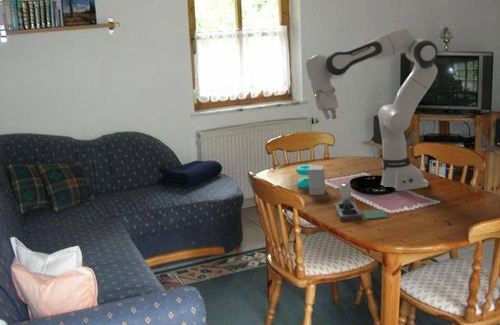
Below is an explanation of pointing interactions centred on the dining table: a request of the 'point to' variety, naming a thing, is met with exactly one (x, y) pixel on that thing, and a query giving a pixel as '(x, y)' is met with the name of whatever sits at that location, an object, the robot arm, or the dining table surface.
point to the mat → (374, 214)
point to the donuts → (303, 171)
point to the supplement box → (316, 180)
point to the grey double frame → (348, 212)
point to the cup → (345, 195)
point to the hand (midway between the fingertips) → (331, 119)
